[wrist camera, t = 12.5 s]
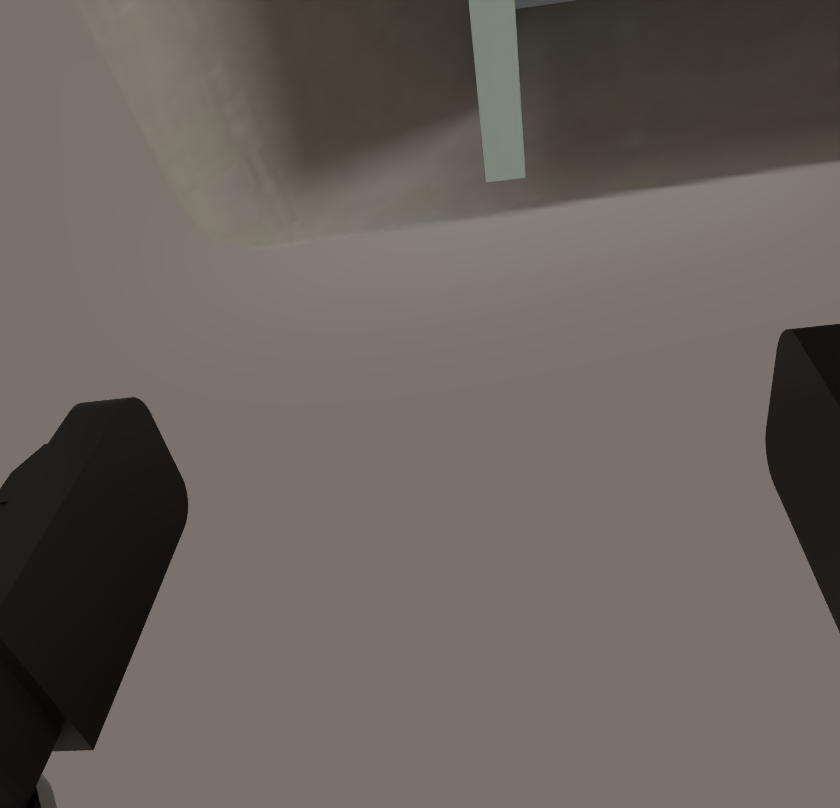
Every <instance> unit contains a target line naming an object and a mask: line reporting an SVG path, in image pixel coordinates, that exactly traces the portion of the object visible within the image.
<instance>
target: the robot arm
mask: <svg viewBox="0 0 840 808" xmlns="http://www.w3.org/2000/svg"><path fill="white" fill-rule="evenodd" d="M766 454H767V461H768V466H769V471H770V474H771V478H772V480H773V483H774V485H775V487H776V490H777V492H778V494H779V497H780V499H781V501H782V503H783V505H784V508H785V510H786V512H787V514H788V517H789V519H790V521H791V524H792V526H793V528H794V531H795V533H796V535H797V537H798V540H799V542H800V544H801V546H802V548H803V551H804V553H805V555H806V558H807V560H808V562H809V564H810V566H811V569H812V571H813V573H814V576H815V578H816V580H817V582H818V585H819V587H820V589H821V591H822V594H823V596H824V598H825V601H826V603H827V605H828V607H829V610H830V612H831V614H832V616H833V618H834V620H835V623H836V625H837V627H838V630H839V632H840V324H834V325H825V326H815V327H806V328H796V329H787V330H785V331H784V332H783V333H782V334H781V336H780V338H779V342H778V346H777V353H776V360H775V367H774V375H773V382H772V389H771V396H770V404H769V411H768V419H767V426H766ZM187 514H188V498H187V491H186V487H185V483H184V481H183V478H182V476H181V474H180V472H179V470H178V468H177V466H176V464H175V462H174V460H173V458H172V456H171V454H170V452H169V450H168V448H167V446H166V444H165V442H164V440H163V438H162V435H161V433H160V431H159V430H158V427H157V425H156V423H155V421H154V419H153V417H152V415H151V413H150V411H149V409H148V408H147V406H146V405H145V404H144V403H143V402H142V401H141V400H140V399H138V398H134V397H132V398H122V399H114V400H103V401H94V402H85V403H80V404H77V405H76V406H74V407H73V408H72V410H71V411H70V412H69V414H68V415H67V416H66V418H65V419H64V421H63V422H62V424H61V425H60V427H59V428H58V430H57V431H56V433H55V434H54V436H53V437H52V438H51V440H50V441H49V443H48V444H44V445H43V446H42V447H41V448H40V449H39V450H37V451H36V452H35V453H34V454H33V455H31V456H30V457H29V458H28V459H27V460H26V461H24V463H22V464H21V465H20V466H19V467H17V468H16V469H15V470H14V471H13V472H12V473H11V474H10V476H9V477H8V478H7V480H6V481H5V483H4V484H3V486H2V487H1V488H0V808H57V806H56V803H55V798H54V794H53V791H52V788H51V785H50V783H49V782H48V780H47V779H46V778H45V776H44V775H43V774H42V772H43V770H44V768H45V765H46V763H47V761H48V759H49V757H50V755H51V752H52V751H72V750H73V751H76V750H94V747H95V745H96V742H97V740H98V737H99V735H100V732H101V730H102V728H103V725H104V722H105V720H106V718H107V715H108V713H109V710H110V708H111V706H112V703H113V701H114V698H115V696H116V693H117V691H118V688H119V686H120V684H121V681H122V679H123V676H124V674H125V672H126V669H127V666H128V664H129V662H130V659H131V657H132V654H133V652H134V649H135V647H136V645H137V642H138V640H139V637H140V635H141V632H142V630H143V628H144V625H145V622H146V620H147V618H148V615H149V613H150V610H151V608H152V605H153V603H154V600H155V598H156V596H157V593H158V591H159V588H160V586H161V583H162V581H163V579H164V576H165V574H166V571H167V569H168V566H169V564H170V561H171V559H172V556H173V554H174V552H175V549H176V547H177V544H178V542H179V539H180V537H181V534H182V532H183V530H184V527H185V524H186V520H187Z"/></svg>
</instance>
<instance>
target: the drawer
mask: <svg viewBox="0 0 840 808" xmlns="http://www.w3.org/2000/svg"><path fill="white" fill-rule="evenodd" d="M568 1H575V0H469V10H470V21H471V31H472V41H473V52H474V62H475V73H476V83H477V94H478V104H479V114H480V125H481V135H482V146H483V156H484V167H485V177H486V182H494V181H502V180H511V179H520V178H526V177H525V161H524V145H523V128H522V112H521V96H520V80H519V63H518V47H517V31H516V14H515V9H520V8H527V7H533V6H540V5H547V4H554V3H561V2H568Z"/></svg>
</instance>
